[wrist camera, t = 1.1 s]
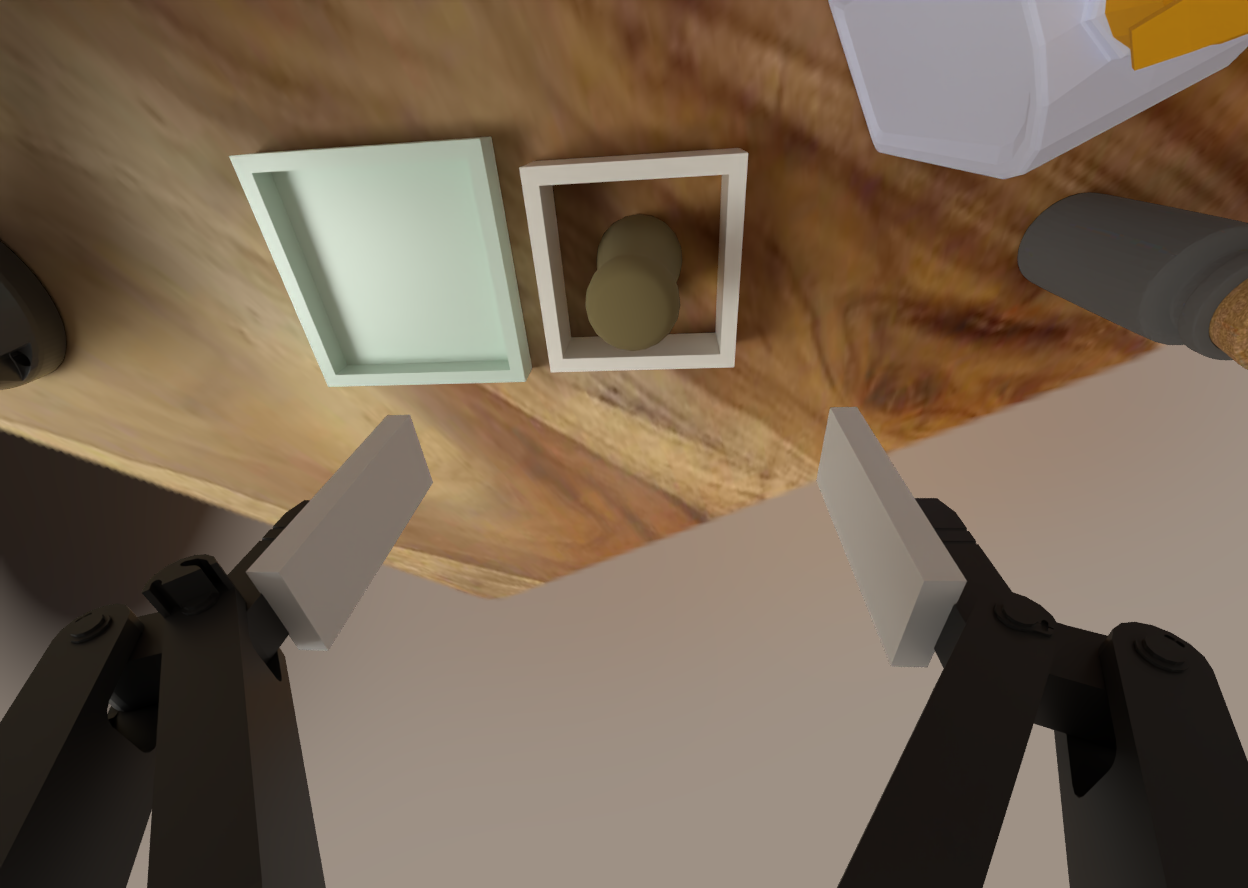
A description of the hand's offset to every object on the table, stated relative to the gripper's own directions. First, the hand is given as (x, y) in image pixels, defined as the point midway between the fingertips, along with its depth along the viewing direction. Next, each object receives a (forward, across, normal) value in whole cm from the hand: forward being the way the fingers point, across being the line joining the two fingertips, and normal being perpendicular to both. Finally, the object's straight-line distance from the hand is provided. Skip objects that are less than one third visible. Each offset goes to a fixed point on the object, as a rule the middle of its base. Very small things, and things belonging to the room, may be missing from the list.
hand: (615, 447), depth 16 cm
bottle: (+24, +28, 0) cm, 36 cm away
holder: (+23, 0, 0) cm, 23 cm away
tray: (+23, -17, 0) cm, 29 cm away
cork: (+24, 0, 0) cm, 24 cm away
